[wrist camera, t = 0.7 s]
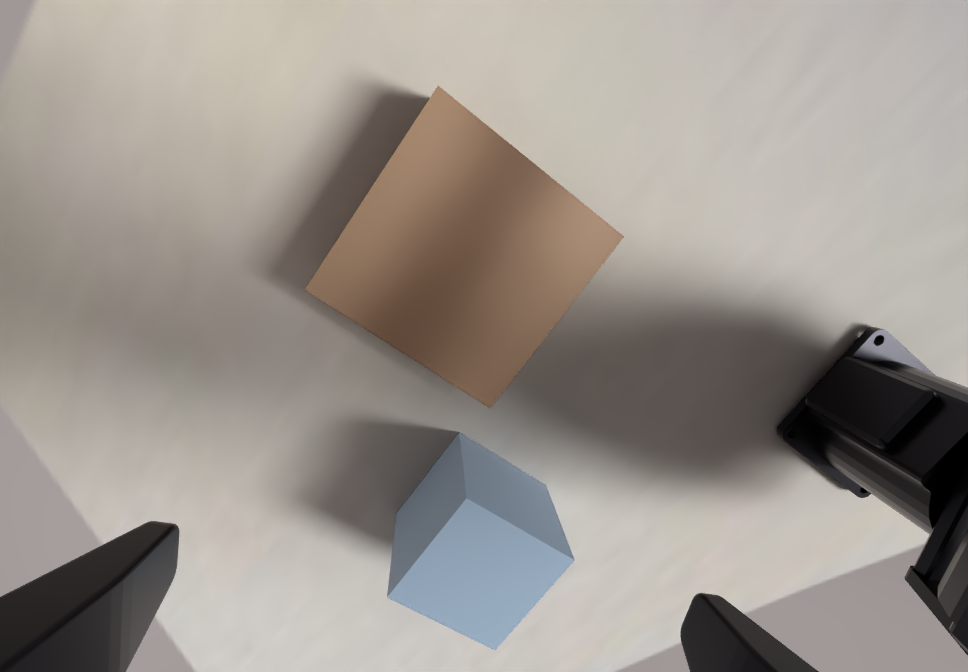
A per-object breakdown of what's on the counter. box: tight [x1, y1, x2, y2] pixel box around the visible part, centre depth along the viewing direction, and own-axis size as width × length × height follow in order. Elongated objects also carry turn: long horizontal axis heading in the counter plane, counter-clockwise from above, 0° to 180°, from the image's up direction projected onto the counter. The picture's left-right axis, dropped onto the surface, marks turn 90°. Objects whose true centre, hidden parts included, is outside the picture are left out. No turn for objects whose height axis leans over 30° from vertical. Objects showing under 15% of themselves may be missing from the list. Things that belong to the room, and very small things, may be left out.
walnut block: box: [305, 86, 624, 408], centre depth 19 cm, size 8×8×3 cm
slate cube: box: [387, 432, 574, 650], centre depth 21 cm, size 5×5×5 cm
